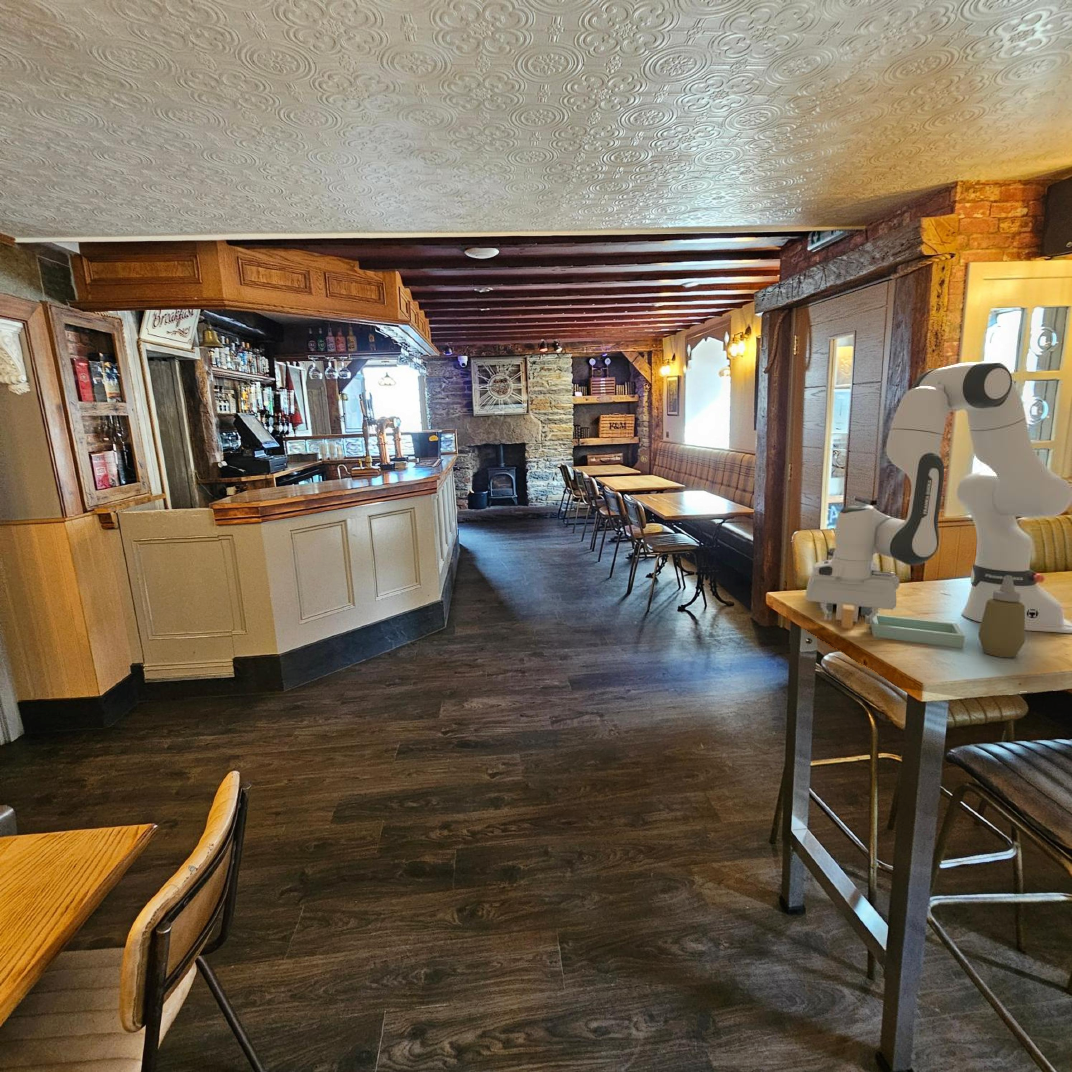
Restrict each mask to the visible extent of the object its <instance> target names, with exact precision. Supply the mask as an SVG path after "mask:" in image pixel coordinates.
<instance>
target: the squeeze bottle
mask: <svg viewBox="0 0 1072 1072" xmlns="http://www.w3.org/2000/svg"><path fill="white" fill-rule="evenodd" d="M1020 595H1021V594H1020V593H1019V592H1016V591H1015V590H1014V583H1013V577H1012V576H1010V575H1006V576H1005V578H1004V580H1003V583H1002V585H1001V587H1000V589H997V590H994V591H993V598H992V599H990V600H988V601H987V602H986V606H985V610H984V614H983V618H982V622H980V626H979V630H978V638H979V642H980V645H981V649H982V651H983V652H984V653H986V654H987V655H991V656H994V657H999V658H1008V659H1010V658H1011V659H1012V658H1016V656H1017V655H1018V654H1019V652H1020V650H1021V649H1022V647H1024V644H1025V642H1026V640H1025V639H1026V636H1025V634H1026V630H1025V606H1024V605H1023V604H1022V603H1021V602H1018V601H1020Z"/></svg>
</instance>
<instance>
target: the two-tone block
mask: <svg viewBox="0 0 1072 1072" xmlns="http://www.w3.org/2000/svg"><path fill="white" fill-rule="evenodd" d="M859 608H860V607H859V606H852V605H843V604H837V605H836V612H835V618H836V620H839V621H841V628H844V629H850V630H852V629H853V627H854V626H853V625H854V622H858V617H859Z"/></svg>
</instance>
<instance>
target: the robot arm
mask: <svg viewBox="0 0 1072 1072" xmlns="http://www.w3.org/2000/svg"><path fill="white" fill-rule="evenodd" d="M961 410H962V411H964V410H965V412H967V413H966V414H967V423H968V428H969V433H970V437H971V438H970V439H971V444H972V447H973V452H974V456H975V457H976V458H977V460H978V461H979V462H981V463H983V464H984V465H986V466H988V468H989V469H991V470H987V471H981V472H974V473H969V474H967V475H965V476H964V477H963V478H962V479H961V481H960V482H959V483H958V485H957V489H956V496H957V497H956V498H957V500H958V502H959V504H961V505H962V506H963V507H964V508H965V509H966V510H967V511H968V513H969V515H970V516H971V518H972V521H973V524H974V527H975V532H976V554H975V562H974V564H973V565H972V569H971V573H970V584H971V588H970V591H969V594H968V598H967V601H966V604H965V605H964V608H963V610H962V611H961V615H963V616H964V617H965V618H968V619H969V620H973V621H976V622H979V623H981V622H982V618H983V614H984V610H985V606H986V602H987V601H988V600H990V599H992V598H993V591H994V590H997V589H1000V587H1001V585H1002V583H1003V580H1004V578H1005V576H1006V575H1010V576H1012V577H1013V583H1014V590H1015V591H1016V592H1019V593H1020V594H1021V595H1020V601H1018V602H1021V603H1022V604H1023V605H1024V606H1025V631H1030V632H1031V631H1035V632H1048V633H1060V634H1061V633H1063V634H1064V633H1065V634H1072V622H1071V621H1070V620H1068V619H1066V618H1065V617H1064V609H1063V606H1062V604H1061V602H1060V601H1059V600H1058V599H1056V597H1054V596H1053V595H1051V594H1050V593H1049V592H1048V591H1047V590H1045V589H1043V588H1042V587H1041V586H1039V585H1038V584H1037V583H1044V581H1046V578H1045V575H1043V574H1041V573H1039V572H1036V571H1035V570H1032V569H1030V565H1031V558H1032V557H1031V556H1032V550H1033V539H1032V538H1031V536H1030V535H1029V534H1027V533H1026V532H1025V531H1024V530H1023V529H1021V527H1020V526H1019V524H1018V522H1017V518H1016V517H1022V518H1023V517H1024V518H1030V519H1031V518H1032V519H1039V518H1053V517H1058V516H1060V515H1062V514H1063V513H1064V512H1066V510H1067V509H1068V508H1069V507H1070V505H1071V504H1072V487H1071V484H1070V483H1069V482H1068V481H1067V480H1066V479H1065V478H1063V477H1060V476H1059V475H1058V474H1056V473H1055V472H1053V470H1051V469H1050V468H1049V467H1048V466H1047V465H1046V464H1045V463H1044V462H1043V460H1042V459H1041V458H1040V456H1039V454H1037V452H1036V450H1035V448H1034V445H1033V443H1032V440H1031V436H1030V432H1029V426H1028V423H1027V417H1026V414H1025V413H1026V411H1025V408H1024V404H1023V401H1022V398H1021V395H1020V393H1019V390H1018V388H1017V387H1016V384H1015V383H1014V382H1013V378H1012V374H1011V372H1010V369H1008V367H1007V366H1006V365H1004V364H1003V363H1001V362H997V361H988V360H986V361H985V360H984V361H979V362H965V363H964V362H963V363H956V364H954V365H948V366H945V367H939V368H938V367H937V368H932V369H930V370H926V371H924V372H923V373H921V374H920V375H918V377H917V378H916V379H915V380H914V382H913V383H912V386H911V388H910V389H909V390H907V392H905V393H904V395H903V396H902V398H901V400H900V402H899V405H898V406H897V409H896V411H895V414H894V416H893V419H892V421H891V426H890V427H889V428H890V429H889V432H888V437H887V441H886V447H885V448H886V456H887V458H888V459H889V461H890V462H891V463H892V464H893V465H894V466H895V467H897V468H898V469H900V470H901V471H902V472H904V473H905V475H907V477H908V478H909V480H910V485H911V489H910V498H909V502H908V503H909V504H908V505H909V506H908V511H907V517H906V519H902V518H901V519H900V518H896V517H893V516H890V515H887V514H884V513H882V512H880V511H879V510H877V509H876V508H875V507H874V506H873V505H871V504H866V503H865V504H862V503H859V504H857V503H856V504H851V505H847V506H844V507H843V508H841V509H840V510H839V512H838V514H837V517H836V521H835V528H834V529H835V530H834V539H833V540H834V544H835V547H834V548H835V551H834V554H833V559H832V560H827V561H823V560H822V561H817V562H815V563H814V565H813V566H812V573H811V574H810V576H809V579H808V582H807V586H806V591H805V598H806V600H808V602H817V603H819V602H821V608H822V609H823V611H822V612H823V613H824V620H831V619H832V612H830V611H827V609H826V606H827V603H833V604H843V605H852V606H862V607H871V609H872V613H871V614H870V615H869V616H865V615H864V617H865V619H864V621H865V622H864V624H865V625H870V626H871V625H872V618H874V617H875V615H878V614H879V609H883V610H894V609H895V608H896V607H897V590H898V589H899V587H900V582H901V579H900V576H898V575H897V573H894V572H892V571H882V570H878V571H875V570H872V565H873V563H874V555H875V554H878V555H882V556H885V557H888V558H891V559H895V560H897V561H899V562H901V563H903V564H906V565H909V566H919V565H922V564H924V563H927V561H929V560H931V559H932V558H933V556H935V555H936V553H937V551H938V549H939V545H940V534H939V518H940V509H941V503H942V494H943V487H944V481H945V464H944V461H943V458H942V457H941V456H942V455H941V447H942V440H943V435H944V432H945V428H946V425H947V417H948V415H949V414H950V413H951V412H957V411H961Z"/></svg>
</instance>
